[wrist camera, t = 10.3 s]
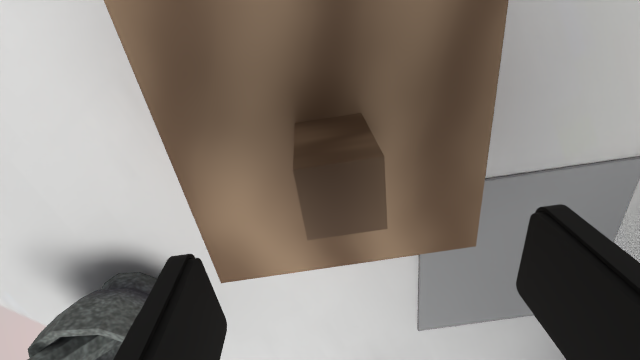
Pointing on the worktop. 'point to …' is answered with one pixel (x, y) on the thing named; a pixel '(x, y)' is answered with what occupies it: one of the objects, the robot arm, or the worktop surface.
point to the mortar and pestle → (95, 321)
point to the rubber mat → (516, 239)
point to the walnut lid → (321, 123)
